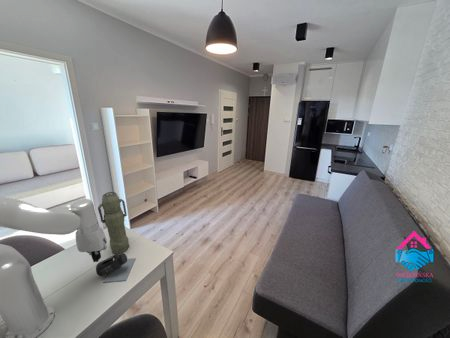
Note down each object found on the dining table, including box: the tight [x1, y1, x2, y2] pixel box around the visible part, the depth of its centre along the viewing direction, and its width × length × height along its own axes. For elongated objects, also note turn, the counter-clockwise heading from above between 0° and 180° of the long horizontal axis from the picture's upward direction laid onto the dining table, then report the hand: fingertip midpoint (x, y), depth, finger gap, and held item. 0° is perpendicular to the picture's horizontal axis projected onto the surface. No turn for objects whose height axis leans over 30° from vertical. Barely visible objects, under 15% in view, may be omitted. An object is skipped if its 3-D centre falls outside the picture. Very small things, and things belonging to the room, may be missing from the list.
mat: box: [102, 257, 136, 284], centre depth 90 cm, size 13×10×1 cm
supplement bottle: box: [95, 252, 128, 278], centre depth 87 cm, size 7×7×12 cm
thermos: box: [97, 191, 130, 255], centre depth 98 cm, size 9×12×35 cm
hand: (97, 259), depth 85 cm, fingers closed
